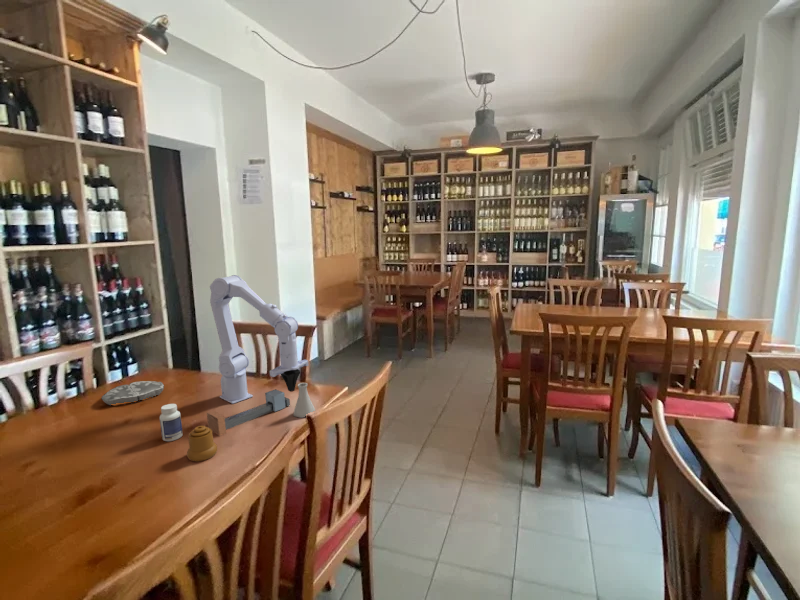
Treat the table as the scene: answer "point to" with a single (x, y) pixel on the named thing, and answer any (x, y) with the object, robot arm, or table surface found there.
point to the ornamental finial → (201, 444)
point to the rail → (237, 417)
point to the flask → (303, 402)
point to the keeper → (276, 399)
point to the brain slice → (133, 392)
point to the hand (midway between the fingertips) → (291, 390)
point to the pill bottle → (170, 423)
